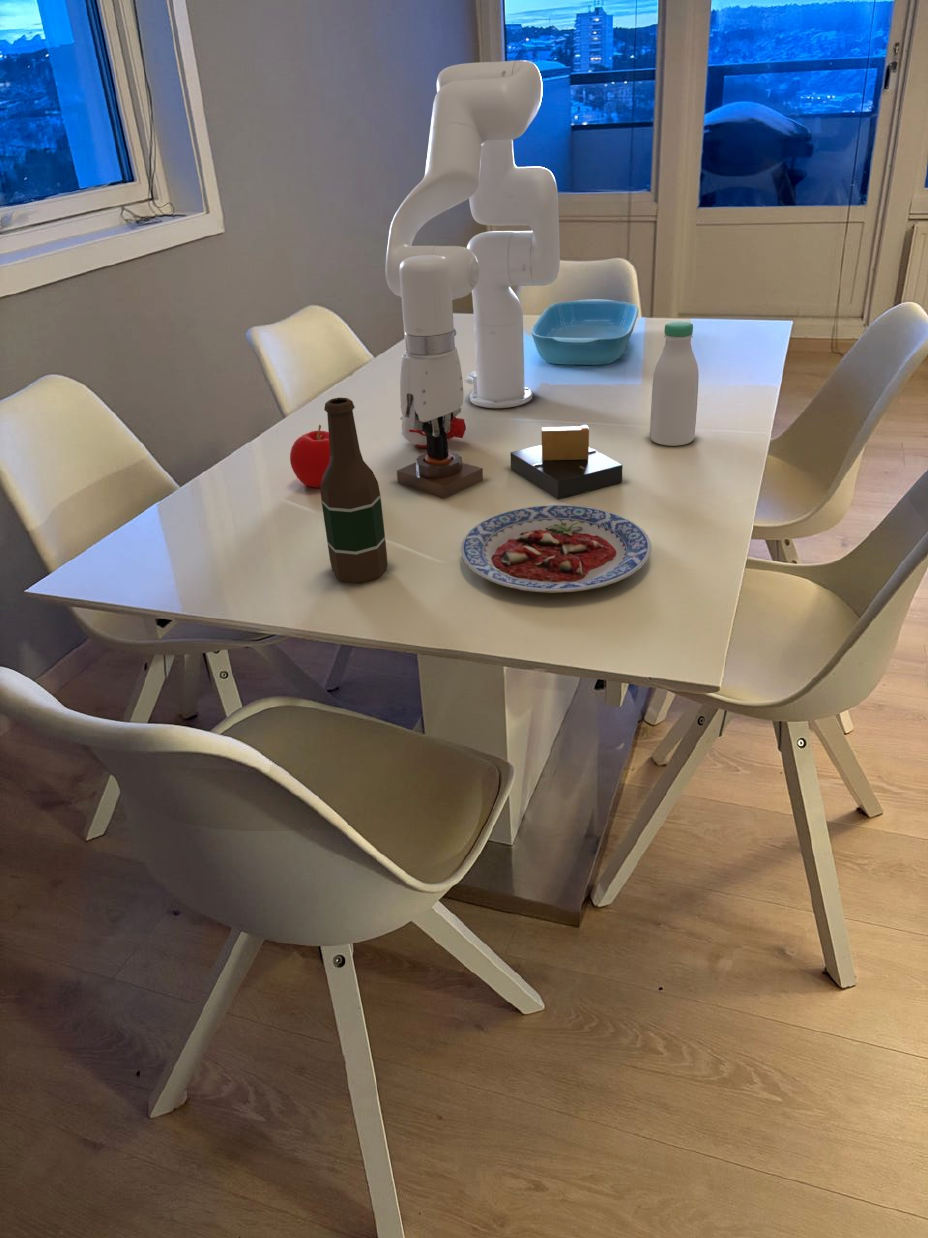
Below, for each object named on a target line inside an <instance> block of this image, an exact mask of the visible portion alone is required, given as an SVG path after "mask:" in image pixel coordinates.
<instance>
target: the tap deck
mask: <svg viewBox="0 0 928 1238" xmlns="http://www.w3.org/2000/svg"><path fill="white" fill-rule="evenodd" d="M509 453H510V454H509V455H510V470H512V471H513V472H515V473H516V474H518V475H519V476H521V477H523V478H524V479H526V480H527V481H529V482H530V483H532V484H534V485H535V486H536V487H538V488H540V489H541V490H542V491H544V492H546V493H547V494H549V495H551V496H553V497H554V498H555V499H557V500H562V499H564V498H569V497H572V496H576V495H579V494H583V493H587V492H591V491H594V490H598V489H603V488H605V487H609V486H610V487H611V486H614V485H617V484H621V483H623V464H622V463H620V462H618V461H616V460H614V459H612V458H611V457H609V456H607V455H605V454H603V453H602V452H600V451H597V450H596V449H594V448H592V447H590V446H589V459H583V460H544V461H542V444H539V445H535V446H531V447H527V448H522V449H518V450H514V451H510V452H509Z"/></svg>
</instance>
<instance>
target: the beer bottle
mask: <svg viewBox="0 0 928 1238" xmlns="http://www.w3.org/2000/svg"><path fill="white" fill-rule="evenodd" d="M355 408H356V407H355V405H354V402H353V400H352V399H350V398H348V397H334V398H331V399H329V400H327V401H326V402H325V403H324V409H323V411H325V412H326V413H327V428H328V432H329V444H330V461H329V465H328V467H327V469H326V471H325V472H324V474H323V478H322V482H321V486H320V488H319V489H320V500H321V501H320V502H321V508H322V514H323V515H322V516H323V522H324V529H325V533H326V534H325V535H326V542H327V550H328V556H329V562H330V567H331V571H332V572H333V574H334V575H335V576H336V577H337V578H338V579H339V580H340V582H345V583H353V584H354V583H355V584H362V583H366V582H369V581H373V580H376V579H379V578H380V577H381V576H382V575H383V574H384V572H385V571H386V570H387V568H388V551H387V543H386V542H387V541H386V533H385V525H384V524H385V523H384V516H383V515H384V514H383V505H382V498H381V491H380V486H379V485H380V484H379V481H378V479H377V477H376V475H375V473H374V471H373V470H372V468H371V467H369V465H368V464H367V463H366V462H365V460H364V458H363V456H362V452H361V449H360V448H361V447H360V444H359V438H358V432H357V427H356V422H355V415H354V410H355Z"/></svg>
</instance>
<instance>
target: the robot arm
mask: <svg viewBox="0 0 928 1238" xmlns="http://www.w3.org/2000/svg"><path fill="white" fill-rule="evenodd" d="M542 98H543V81H542V75H541V73H540V70H539V68H538V66H537V65H536V64H535V63H534V62H532V61H529V60H526V59H525V60H524V59H523V60H522V59H521V60H506V61H503V60H502V61H480V62H466V63H458V64H452V65H450V66H447V67H445V68H443V69H442V70H441V71H440V72H439V73H438V75H437V78H436V94H435V96H434V99H433V104H432V111H431V119H430V126H429V127H430V128H429V136H428V143H427V144H428V146H427V153H426V154H427V155H426V160H425V171H424V176H423V178H422V179H421V181H420V182H419V183H418V184H417V185H416V186H414V188H413V189H412V190H411V191H410V192H409V193H408V194H407V196H406V197H405V198H404V199H403V201H402V202H401V204H400V206H399V207H398V209H397V210H396V212H395V214H394V215H393V218H392V220H391V223H390V226H389V231H388V240H387V247H386V253H385V267H384V271H385V281H386V284H387V286H388V288H389V290H390V291H391V293H393V294H394V295H395V296H397V297H400V298H401V309H402V322H403V331H404V332H403V333H404V343H405V354H403V355H402V358H401V364H400V374H399V375H400V376H399V377H400V379H399V390H400V391H399V396H400V411H401V416H402V415H403V417H406V418H409V429H412V430H422V432H423V434H426V440H427V448H426V451H427V452H426V453H428V456H429V457H432V458H435V459H438V460H442V459H444V458H447V457H448V451H449V443H448V439H447V433H448V432H449V431H450V423H451V421H452V419H453V418H454V417H456V416H458V415H460V414H461V412H462V406H463V405H464V401H465V399H464V397H465V396H464V395H465V393H464V383H465V384H467V385H472V386H473V388H472V389H473V390H472V391H471V392H470V393H469V401H470V403H472V404H473V405H475V406H478V407H481V408H487V409H507V408H513V407H519V406H522V405H526V404H527V403H529V402H530V401H531V400H532V399H533V391H532V390H531V388H529V387H528V386H525V353H524V352H525V349H524V344H525V343H524V311H523V306H522V303H521V301H520V299H519V298H518V296H517V295H516V293H515V292H514V290H513V289H512V288H511V287H538V286H539V287H541V286H548V285H551V284H553V283H554V282H555V281H556V280H557V277H558V275H559V272H560V266H561V265H560V263H561V250H560V249H561V248H560V247H561V246H560V245H561V244H560V219H559V218H560V217H559V212H560V211H559V194H558V186H557V181H556V178H555V176H554V174H553V173H552V171H551V170H550V169H548V168H545V167H543V166H517V165H516V163H515V156H514V155H515V154H514V140H515V139H518V138H520V137H521V136H523V135H524V133H525V132H526V131H527V129H528V128H529V126H530V125H531V123H532V122H533V120H534V119H535V118H536V117H537V114H538V113H539V110H540V107H541V103H542ZM467 200H468V202H469V208H470V213H471V216H472V218H473V220H474V221H475V222H476V223H478V224H479V225H483V226H528V227H529V229H530V230H517V231H516V230H494V231H493V230H491V231H484V232H480V233H478V234H476V235H474V236H472V238H470V240H469V241H468V242H467V245H466V247H464V246H461V245H413V242H414V239H415V237H416V235H417V234H418V232H420V229H422V227H423V226H424V225H425V224H426V223H428V222H429V221H430V220H432V219H433V218H435V217H437V216H438V215H440V214H442V213H444V212H446V211H448V210H450V209H452V208H454V207H456V206H458V205H460V204H462V203H464V202H465V201H467ZM470 294H471V298H472V309H473V310H472V312H473V330H474V351H475V367H476V368H475V370H476V371H473V370H472V371H470V372H468V374H467V376H466V377H465V378H464V380H463V371H462V367H461V361H460V356H459V352H458V348H457V347H456V343H455V337H456V336H457V330H456V328H455V327H454V326H455V325H454V309H453V300H458V299H462V298H465V297H467V296H468V295H470ZM428 422H430V423H428Z"/></svg>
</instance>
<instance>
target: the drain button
mask: <svg viewBox="0 0 928 1238" xmlns="http://www.w3.org/2000/svg"><path fill="white" fill-rule="evenodd" d="M451 461H452V455H451V454H450V453H448V457H447V458H444V459H442V460H438V459H435V458H432V457H429V456H428V455H426V456H425V463H427V464H430V465H442V464H447V463H449V462H451Z"/></svg>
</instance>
